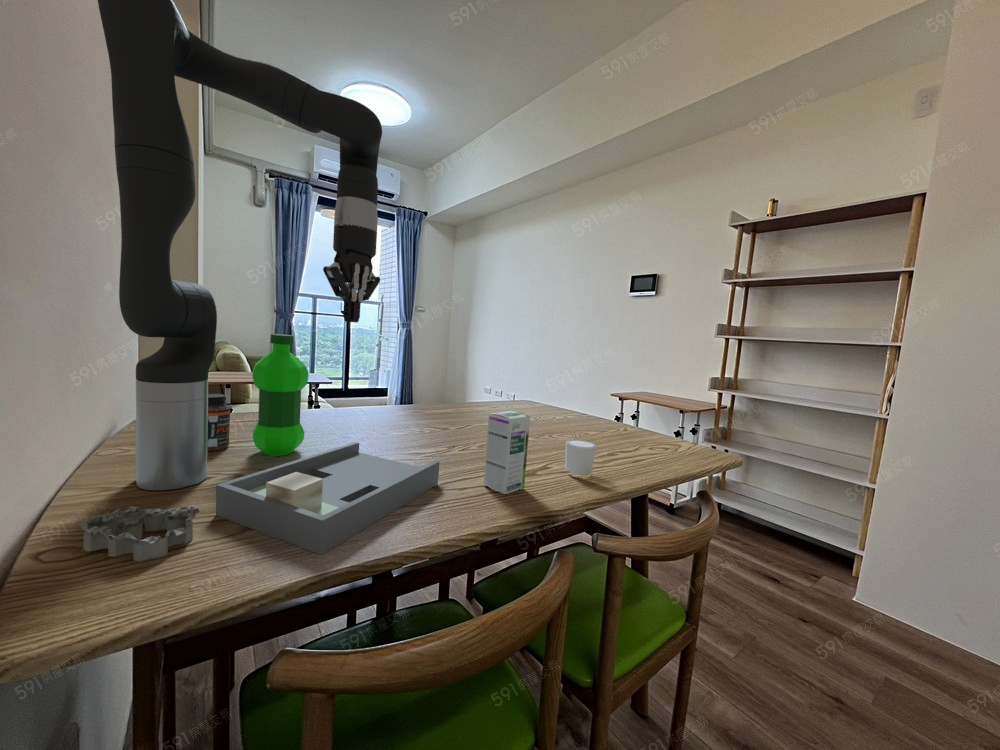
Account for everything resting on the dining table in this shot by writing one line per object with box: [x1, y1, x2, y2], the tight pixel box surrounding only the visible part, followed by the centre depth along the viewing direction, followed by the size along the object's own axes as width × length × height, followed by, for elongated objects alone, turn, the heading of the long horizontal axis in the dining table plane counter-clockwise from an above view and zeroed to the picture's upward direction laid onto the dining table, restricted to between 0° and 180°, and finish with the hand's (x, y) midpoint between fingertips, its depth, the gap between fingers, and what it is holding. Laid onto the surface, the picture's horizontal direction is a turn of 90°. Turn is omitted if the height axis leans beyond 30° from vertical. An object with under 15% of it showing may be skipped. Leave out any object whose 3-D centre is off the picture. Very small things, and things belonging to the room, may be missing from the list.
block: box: [266, 472, 323, 511], centre depth 57 cm, size 5×5×4 cm
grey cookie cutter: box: [75, 505, 201, 562], centre depth 50 cm, size 11×8×4 cm
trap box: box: [215, 441, 440, 556], centre depth 67 cm, size 20×28×4 cm
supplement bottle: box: [207, 393, 231, 452], centre depth 85 cm, size 6×6×11 cm
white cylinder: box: [564, 439, 598, 475], centre depth 89 cm, size 7×7×7 cm
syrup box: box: [483, 410, 531, 495], centre depth 77 cm, size 6×6×14 cm
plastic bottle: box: [251, 333, 309, 457], centre depth 85 cm, size 10×10×25 cm
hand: (351, 321), depth 77 cm, fingers closed
